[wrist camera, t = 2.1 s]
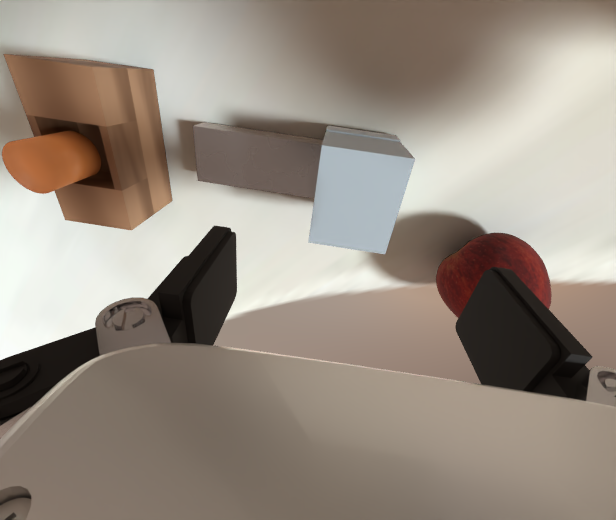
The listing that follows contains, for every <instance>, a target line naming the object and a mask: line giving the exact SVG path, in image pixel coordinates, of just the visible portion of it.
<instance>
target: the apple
mask: <svg viewBox="0 0 616 520" xmlns="http://www.w3.org/2000/svg"><path fill="white" fill-rule="evenodd" d="M491 267H499V268H506V269H511V270H512V271H513V272H514V273H515V274H516V275H517V276H518V277H519V278H520V279H521V280H522V281H523V282H524V283H525V285H526V286H527V287H528V288H529V289H530V290H531V291H532V292H533V293H534V294H535V295H536V296H537V298H538V299H539V300H540V301H541V302H542V303H543V304H544V305H545V306H546V307H547V308H548V309H549V307H550V304H551V288H550V280H549V277H548V273H547V270H546V267H545V265H544V263H543V261H542V259H541V258H540V256H539V255H538V254H537V253H536V251H535V250H534V249H533V248H532V247H531V246H530V245H529V244H527V243H526V242H524V241H523V240H521V239H519V238H517V237H515V236H512V235H509V234H505V233H490V234H485V235H482V236H480V237H477V238H475V239H472V240H471V241H469V242H468V243H467V244H466V245H465V246H464V247H463V248H461V249H460V250H459V251H458V252H456V253H454V254H453V255H450V256H448V257H447V258H445V259H444V260H443V261H442V263H441V264H440V266H439V268H438V271H437V275H436V283H437V288H438V291H439V294H440V295H441V298H442V299H443V301H444V302H445V304H446V305H447V306H448V307H449V309H450V310H451V311H452V312H453V313H454V314H455V315H456V316H457V317H458V318H459V317H460V315H461V313H462V311H463V309H464V308H465V306H466V304H467V302H468V300H469V298H470V297H471V295H472V293H473V291H474V289H475V287H476V286H477V284H478V282H479V280H480V278H481V276H482V275H483V273H484V271H486V270H489V269H490V268H491Z"/></svg>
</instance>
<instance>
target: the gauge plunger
mask: <svg viewBox="0 0 616 520" xmlns="http://www.w3.org/2000/svg"><path fill="white" fill-rule="evenodd" d="M2 157H3V161H4V164H5V166H6V168H7V170H8V171H9V173H10V174H11V175H12V177H13V178H14V179H15V180H16V181H17V182H18V183H20V184H21V185H22V186H24V187H25V188H27V189H29V190H31V191H33V192H36V193H42V194H43V193H49V192H52V191H54V190H57V189H59V188H62V187H64V186H67V185H69V184H72V183H75V182H77V181H80V180H82V179H85V178H87V177H90V176H92V175H95V174H97V173H98V172H99V170H100V168H101V158H100V155H99V153H98V151H97V149H96V147H95V146H94V144H93V143H92V142H91V141H90V140H89V139H88V138H86V137H85V136H84V135H82V134H80V133H78V132H75V131H63V132H58V133H53V134H48V135H43V136H38V137H32V138H27V139H22V140H17V141H12V142H9V143H7V144H6V145H5V146H4V148H3V151H2Z"/></svg>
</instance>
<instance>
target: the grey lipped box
mask: <svg viewBox="0 0 616 520" xmlns="http://www.w3.org/2000/svg"><path fill="white" fill-rule="evenodd" d="M414 161H415V158H414V157H413V156H412V155H411V154H410V153H409V152H408V150H407V149H406V148H405V147H404V146H403V145H402V144H401V142H400V139H399V138H398V137H397V136H396V135H390V134H383V133H377V132H370V131H363V130H356V129H349V128H342V127H335V126H329V125H328V126H327V129H326V133H325V137H324V140H323V143H322V148H321V155H320V162H319V169H318V177H317V184H316V191H315V198H314V206H313V213H312V220H311V227H310V235H309V243H315V244H322V245H328V246H335V247H341V248H348V249H354V250H360V251H367V252H373V253H380V254H385V253H386V250H387V247H388V244H389V241H390V238H391V234H392V231H393V228H394V225H395V222H396V218H397V215H398V212H399V209H400V206H401V202H402V199H403V196H404V193H405V190H406V186H407V183H408V180H409V177H410V174H411V170H412V167H413V164H414Z"/></svg>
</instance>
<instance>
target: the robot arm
mask: <svg viewBox="0 0 616 520" xmlns="http://www.w3.org/2000/svg"><path fill="white" fill-rule="evenodd" d="M236 292H237V269H236V234H235V232H231V229H230V228H227V227H220V226H214V227H213V228H212V229H211V230H210V231H209V232H208V233H207V235H206V236H205V237H204V238H203V239H202V241H201V242H200V243H199V244H198V245H197V246H196V248H195V249H194V250H193V251H192V252H191V254H190V255H189V256H185V257H184V258H183V259H182V260H181V261H180V262H179V263H178V264H177V266H176V267H175V268H174V269H173V270H172V271H171V272H170V274H169V275H168V276H167V277H166V278H165V279H164V281H163V282H162V283H161V284H160V285H159V286H158V287H157V289H156V290H155V291H154V292H153V293H152V294H151V295H150V297H149V298H148V299H145V298H128V299H123V300H120V301H117V302H114V303H113V304H111V305H109V306H107V307H106V308H105V309H103V310H102V311H101V312H100V313H99V315H98V316H97V318H96V323H95V326H96V327H95V328H93V329H90V330H87V331H84V332H81V333H78V334H75V335H72V336H69V337H66V338H63V339H60V340H57V341H54V342H51V343H49V344H46V345H43V346H40V347H37V348H34V349H31V350H28V351H25V352H22V353H19V354H16V355H13V356H10V357H7V358H5V359H3V360H0V520H616V370H614V369H610V368H607V367H602V366H596V367H593V368H591V369H590V370H589V369H588V368H587V367H586V366H585V364H586V363H587V362H588V361H589V360H590V359H591V358H592V356H591V355H590V354H589V353H588V352H587V350H586V349H585V348H584V347H583V346H582V345H581V344H580V343H579V342H578V341H577V340H576V339H575V337H574V336H573V335H572V334H571V333H570V332H569V331H568V330H567V329H566V328H565V327H564V326H563V325H562V323H561V322H560V321H559V320H558V319H557V318H556V317H555V316H554V315H553V314H552V313H551V312H550V310H549V309H548V308H547V307H546V306H545V305H544V304H543V303H542V302H541V301H540V300H539V299H538V298H537V296H536V295H535V294H534V293H533V292H532V291H531V290H530V289H529V288H528V287H527V286H526V285H525V283H524V282H523V281H522V280H521V279H520V278H519V277H518V276H517V275H516V274H515V273H514V272H513V271H512V270H511V269H506V268H499V267H491V268H490V269H489V270H486V271H484V273H483V275H482V276H481V278H480V280H479V282H478V284H477V286H476V287H475V289H474V291H473V293H472V295H471V297H470V298H469V300H468V302H467V304H466V306H465V308H464V309H463V311H462V313H461V315H460V317H459V318H458V320H457V322H456V332H457V334H458V336H459V338H460V340H461V342H462V344H463V346H464V349H465V351H466V353H467V355H468V357H469V359H470V361H471V363H472V365H473V367H474V369H475V372H476V374H477V376H478V378H479V380H480V382H481V384H476V383H469V382H463V381H457V380H450V379H444V378H437V377H430V376H424V375H417V374H411V373H404V372H397V371H391V370H384V369H377V368H371V367H363V366H357V365H351V364H344V363H337V362H330V361H323V360H315V359H309V358H302V357H295V356H288V355H281V354H274V353H268V352H261V351H253V350H247V349H239V348H231V347H222V346H213V344H214V342H215V340H216V338H217V336H218V334H219V332H220V329H221V327H222V325H223V323H224V321H225V319H226V317H227V314H228V312H229V310H230V308H231V306H232V304H233V302H234V299H235V297H236Z"/></svg>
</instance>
